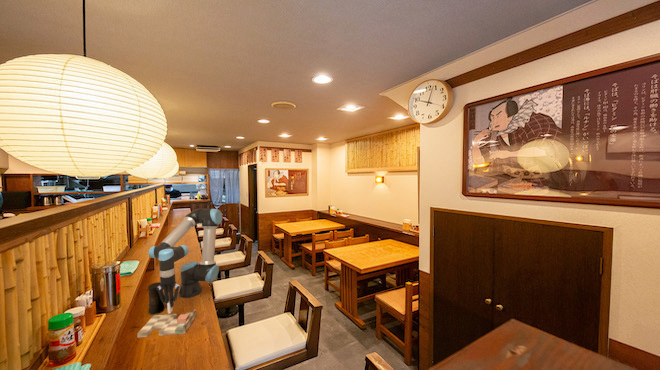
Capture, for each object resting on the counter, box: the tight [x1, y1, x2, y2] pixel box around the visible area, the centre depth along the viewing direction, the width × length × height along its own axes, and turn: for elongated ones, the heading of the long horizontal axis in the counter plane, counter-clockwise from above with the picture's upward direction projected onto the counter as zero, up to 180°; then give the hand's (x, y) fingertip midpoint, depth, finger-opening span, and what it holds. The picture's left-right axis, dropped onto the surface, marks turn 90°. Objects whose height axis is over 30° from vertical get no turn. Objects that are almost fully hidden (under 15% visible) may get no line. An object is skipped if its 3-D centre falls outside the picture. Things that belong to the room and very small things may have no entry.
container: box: [147, 281, 166, 316], centre depth 165 cm, size 9×9×18 cm
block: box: [176, 313, 189, 324], centre depth 151 cm, size 5×5×3 cm
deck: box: [136, 308, 197, 339], centre depth 150 cm, size 17×25×4 cm
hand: (170, 312), depth 151 cm, fingers closed
